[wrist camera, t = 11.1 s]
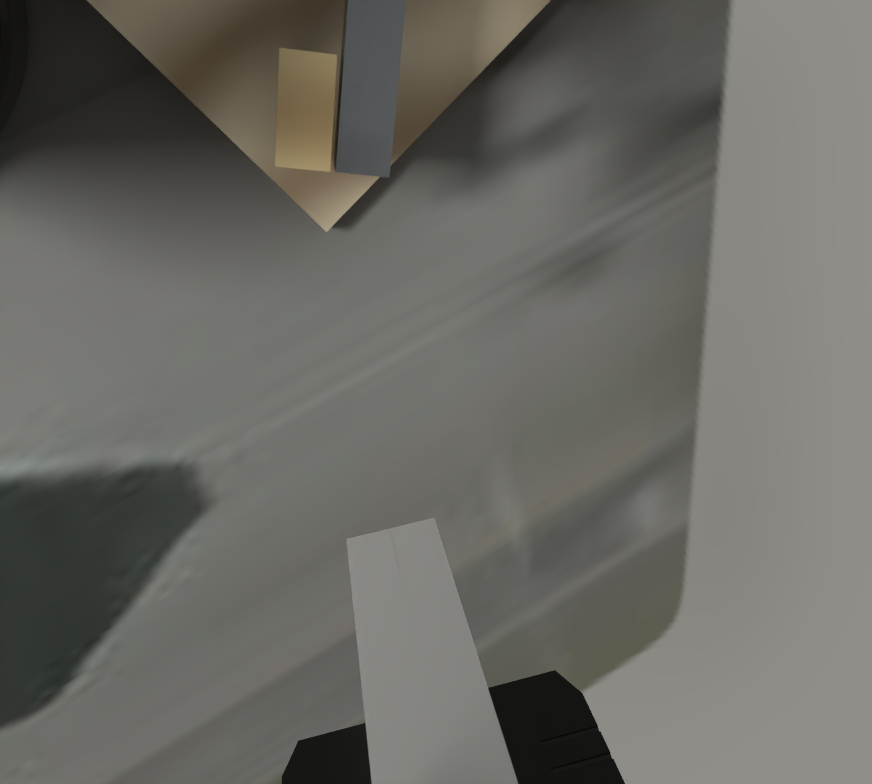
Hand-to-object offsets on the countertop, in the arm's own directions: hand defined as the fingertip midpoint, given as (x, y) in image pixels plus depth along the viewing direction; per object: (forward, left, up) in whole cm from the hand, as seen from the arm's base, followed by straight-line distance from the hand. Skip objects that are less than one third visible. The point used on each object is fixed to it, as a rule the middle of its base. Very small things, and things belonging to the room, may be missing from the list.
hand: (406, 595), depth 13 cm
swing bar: (-7, +8, -21) cm, 24 cm away
